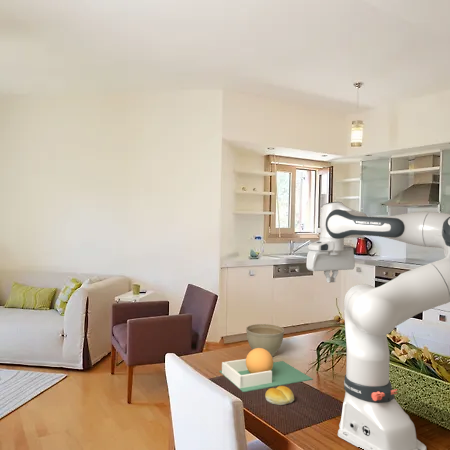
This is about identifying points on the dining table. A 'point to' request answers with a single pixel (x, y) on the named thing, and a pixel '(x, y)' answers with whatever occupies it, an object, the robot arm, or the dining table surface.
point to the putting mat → (278, 376)
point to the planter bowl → (265, 337)
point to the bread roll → (279, 395)
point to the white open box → (242, 381)
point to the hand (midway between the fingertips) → (330, 282)
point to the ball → (259, 360)
